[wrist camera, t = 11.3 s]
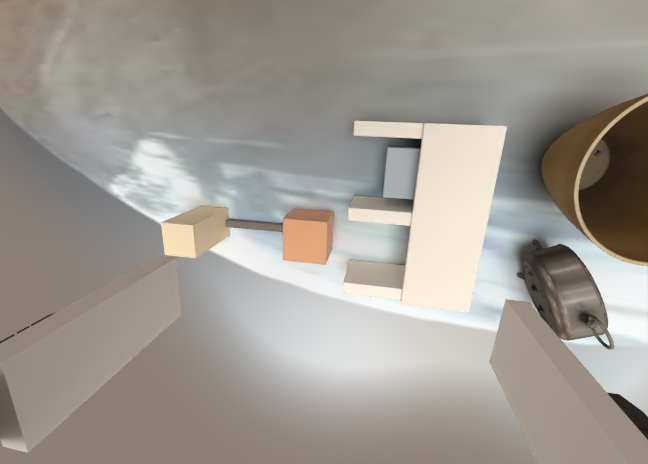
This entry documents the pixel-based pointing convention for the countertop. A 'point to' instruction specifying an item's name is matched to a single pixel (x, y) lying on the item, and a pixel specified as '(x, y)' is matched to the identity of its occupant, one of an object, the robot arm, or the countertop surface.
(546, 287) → the alarm clock
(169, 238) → the corded block
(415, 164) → the slate block
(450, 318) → the countertop surface
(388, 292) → the shelf lanes
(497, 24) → the countertop surface
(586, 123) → the plant pot
